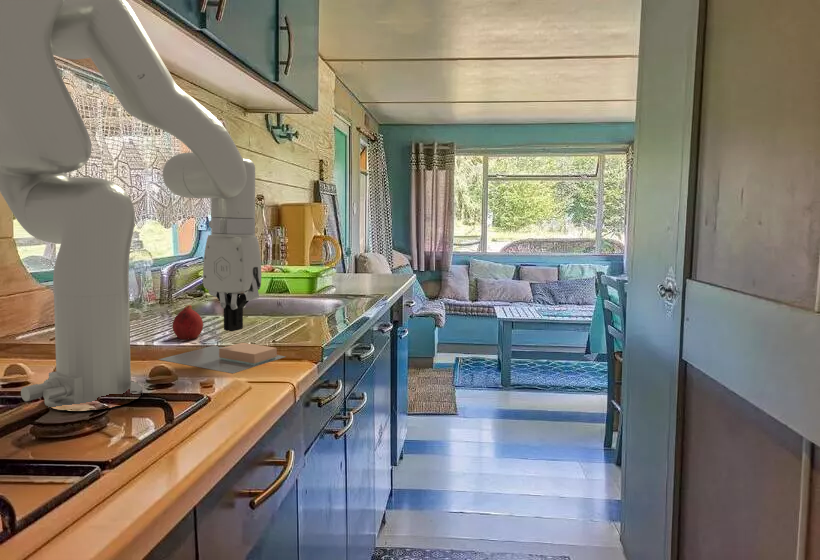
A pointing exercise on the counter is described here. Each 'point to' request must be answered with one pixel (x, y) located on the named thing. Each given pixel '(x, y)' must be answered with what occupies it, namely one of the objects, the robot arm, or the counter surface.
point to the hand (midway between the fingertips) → (233, 329)
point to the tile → (247, 353)
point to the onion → (187, 324)
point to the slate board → (211, 360)
